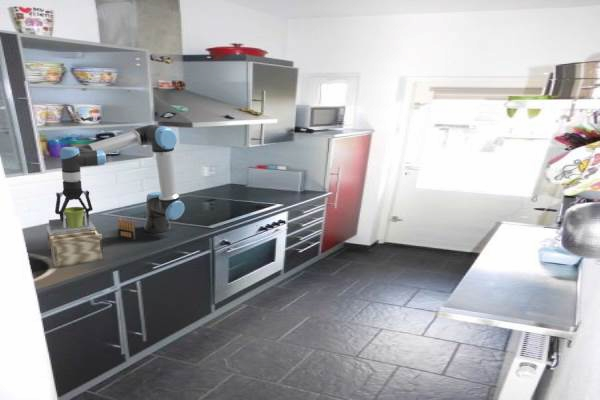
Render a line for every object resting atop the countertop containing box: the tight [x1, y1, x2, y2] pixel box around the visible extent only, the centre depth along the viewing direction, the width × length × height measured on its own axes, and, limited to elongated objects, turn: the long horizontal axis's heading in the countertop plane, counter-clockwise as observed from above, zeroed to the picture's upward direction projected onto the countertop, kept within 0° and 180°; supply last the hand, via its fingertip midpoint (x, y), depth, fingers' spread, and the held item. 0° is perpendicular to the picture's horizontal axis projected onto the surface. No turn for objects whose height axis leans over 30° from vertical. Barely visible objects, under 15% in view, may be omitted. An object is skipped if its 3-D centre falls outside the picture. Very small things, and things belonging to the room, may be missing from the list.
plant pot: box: [64, 206, 85, 228], centre depth 191 cm, size 9×9×9 cm
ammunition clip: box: [117, 217, 137, 241], centre depth 226 cm, size 11×2×12 cm, turn 74°
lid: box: [46, 215, 97, 236], centre depth 204 cm, size 20×12×4 cm, turn 127°
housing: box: [46, 229, 104, 269], centre depth 200 cm, size 20×28×13 cm
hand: (75, 225), depth 192 cm, fingers closed on plant pot, 8 cm apart
